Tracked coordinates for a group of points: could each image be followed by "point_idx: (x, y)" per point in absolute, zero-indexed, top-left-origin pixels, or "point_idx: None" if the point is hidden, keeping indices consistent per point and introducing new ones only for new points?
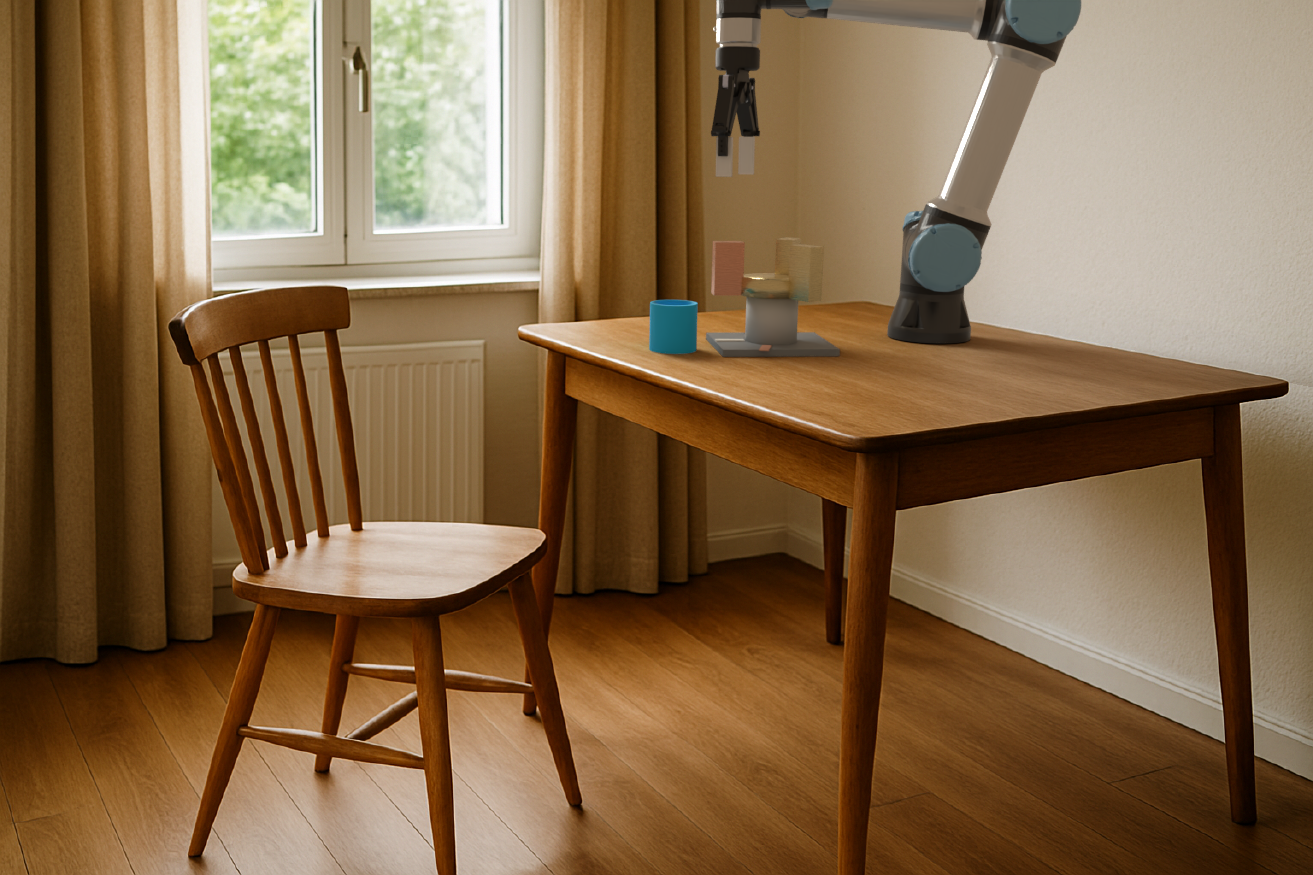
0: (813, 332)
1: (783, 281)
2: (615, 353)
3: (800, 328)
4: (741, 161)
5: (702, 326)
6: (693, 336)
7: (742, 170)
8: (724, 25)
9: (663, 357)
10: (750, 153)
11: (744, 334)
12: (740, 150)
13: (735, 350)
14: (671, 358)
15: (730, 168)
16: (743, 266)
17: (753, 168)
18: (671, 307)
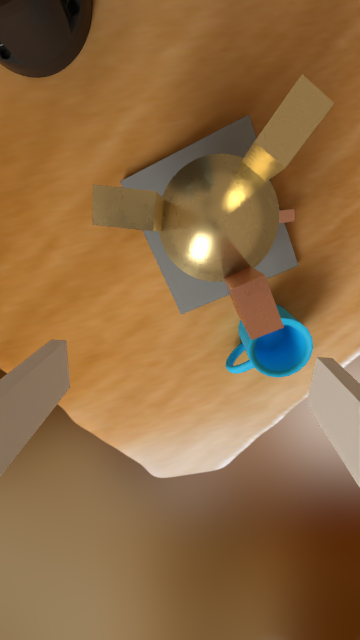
0: (121, 182)
1: (273, 189)
2: (305, 375)
3: (44, 220)
4: (47, 403)
5: (91, 338)
6: (280, 308)
7: (62, 381)
8: None
9: (316, 324)
10: (26, 388)
11: (176, 267)
12: (25, 436)
13: (293, 251)
14: (320, 315)
15: (345, 374)
16: (255, 269)
17: (50, 348)
18: (311, 342)
